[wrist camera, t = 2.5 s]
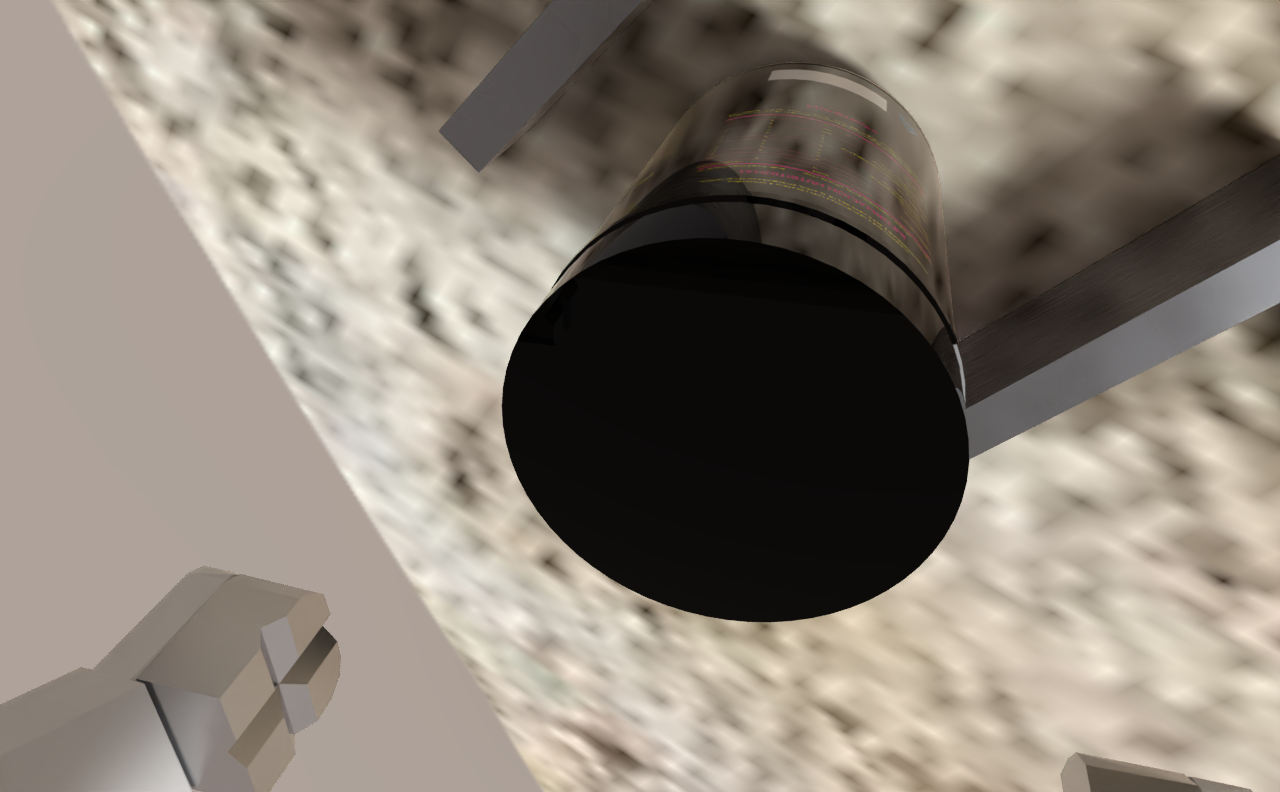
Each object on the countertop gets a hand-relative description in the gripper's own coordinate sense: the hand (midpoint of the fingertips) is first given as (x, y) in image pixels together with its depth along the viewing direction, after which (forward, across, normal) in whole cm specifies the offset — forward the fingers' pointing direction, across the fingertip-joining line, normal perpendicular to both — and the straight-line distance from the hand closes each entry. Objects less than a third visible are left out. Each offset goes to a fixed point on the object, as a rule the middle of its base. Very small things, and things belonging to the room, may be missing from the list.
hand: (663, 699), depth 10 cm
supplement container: (+15, 0, -1) cm, 15 cm away
